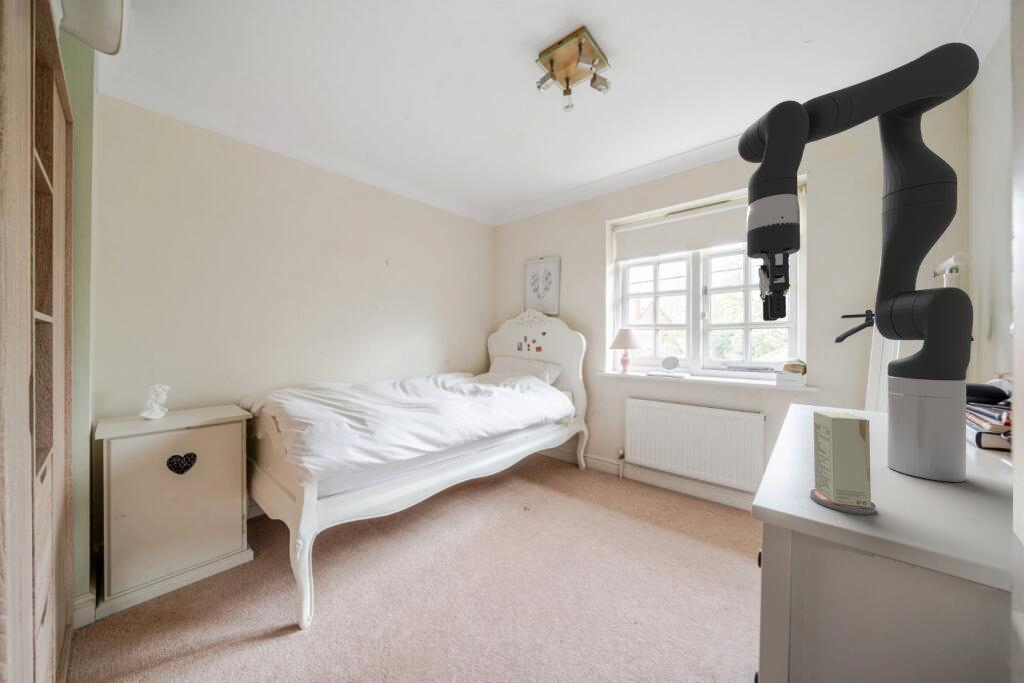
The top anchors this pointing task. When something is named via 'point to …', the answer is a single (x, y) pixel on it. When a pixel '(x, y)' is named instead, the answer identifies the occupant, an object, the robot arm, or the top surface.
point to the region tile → (841, 505)
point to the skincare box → (842, 458)
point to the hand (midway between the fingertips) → (773, 319)
